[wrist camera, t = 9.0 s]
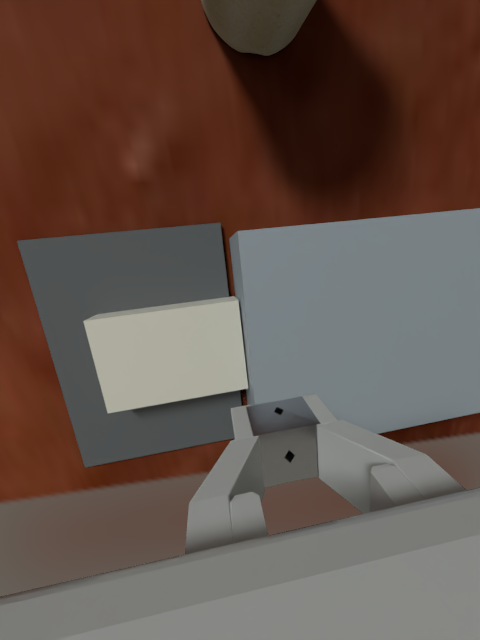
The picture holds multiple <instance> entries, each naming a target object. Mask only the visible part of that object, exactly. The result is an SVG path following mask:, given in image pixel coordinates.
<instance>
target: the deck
mask: <svg viewBox="0 0 480 640" xmlns="http://www.w3.org/2000/svg"><path fill="white" fill-rule="evenodd" d="M229 242H230V251H231V260H232V269H233V278H234V287H235V296H236V298H237V299H238V302H239V311H240V319H241V328H242V337H243V346H244V355H245V363H246V372H247V381H248V389H246V396H247V405H253V404H259V403H266V402H272V401H274V402H275V401H280V400H285V399H290V398H295V397H300V396H304V395H309V394H313V393H314V394H316V395H317V396H318V397H319V398H320V399H321V401H322V402H323V403H324V404H325V406H326V407H327V408H328V409H329V410H330V412H331V413H332V414H333V415H334V416H335V418H336V419H337V420H338V421H339V420H344V421H346V422H349V423H351V424H354V425H356V426H359V427H361V428H363V429H366V430H368V431H371V432H373V433H376V434H379V433H384V432H388V431H393V430H398V429H403V428H407V427H412V426H417V425H422V424H427V423H431V422H436V421H441V420H446V419H450V418H455V417H460V416H465V415H470V414H474V413H479V412H480V208H479V209H468V210H458V211H447V212H436V213H426V214H415V215H405V216H394V217H383V218H373V219H362V220H352V221H341V222H330V223H320V224H309V225H298V226H288V227H277V228H267V229H256V230H245V231H237V232H236V233H235V234H234V235H233V236H232V237H231V238H229Z"/></svg>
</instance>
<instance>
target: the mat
mask: <svg viewBox="0 0 480 640" xmlns="http://www.w3.org/2000/svg"><path fill="white" fill-rule="evenodd" d="M17 243H18V246H19V249H20V253H21V256H22V259H23V263H24V266H25V269H26V273H27V276H28V279H29V283H30V286H31V289H32V293H33V296H34V299H35V303H36V306H37V309H38V313H39V316H40V319H41V323H42V326H43V329H44V332H45V336H46V339H47V342H48V346H49V349H50V352H51V356H52V359H53V362H54V366H55V369H56V372H57V376H58V379H59V382H60V386H61V389H62V392H63V396H64V399H65V402H66V406H67V409H68V412H69V416H70V419H71V422H72V426H73V429H74V432H75V436H76V439H77V442H78V446H79V449H80V452H81V456H82V459H83V462H84V466H85V467H90V466H95V465H100V464H105V463H111V462H116V461H121V460H126V459H131V458H136V457H141V456H146V455H151V454H156V453H161V452H167V451H172V450H177V449H182V448H187V447H192V446H197V445H202V444H207V443H212V442H217V441H222V440H228V439H233V438H234V431H233V423H232V416H231V408H234V407H240V406H242V404H241V395H240V390H237V391H231V392H226V393H220V394H214V395H209V396H203V397H198V398H192V399H186V400H181V401H175V402H170V403H164V404H158V405H153V406H147V407H142V408H136V409H130V410H125V411H119V412H113V413H107V409H106V405H105V401H104V397H103V394H102V390H101V386H100V382H99V379H98V375H97V371H96V367H95V364H94V360H93V356H92V352H91V349H90V345H89V341H88V337H87V334H86V330H85V326H84V322H83V321H84V320H86V319H89V318H91V317H93V316H95V315H97V314H103V313H111V312H118V311H126V310H133V309H141V308H149V307H156V306H164V305H171V304H179V303H186V302H194V301H202V300H209V299H217V298H224V297H229V292H228V284H227V275H226V267H225V258H224V249H223V241H222V232H221V224H220V223H212V224H200V225H189V226H178V227H167V228H156V229H145V230H133V231H122V232H111V233H100V234H89V235H77V236H66V237H55V238H44V239H33V240H21V241H17Z"/></svg>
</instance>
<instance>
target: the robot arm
mask: <svg viewBox="0 0 480 640" xmlns="http://www.w3.org/2000/svg"><path fill="white" fill-rule="evenodd" d="M231 416H232V423H233V431H234V438H235V440H232V441H230V443H229V444H228V446H227V447H226V449H225V450H224V452H223V453H222V455H221V456H220V458H219V459H218V461H217V462H216V464H215V465H214V467H213V468H212V470H211V471H210V473H209V474H208V476H207V477H206V479H205V480H204V482H203V483H202V485H201V486H200V488H199V489H198V491H197V492H196V494H195V495H194V497H193V498H192V500H191V501H190V503H189V512H188V524H187V537H186V548H185V555H181V556H176V557H173V558H168V559H163V560H159V561H155V562H150V563H146V564H141V565H137V566H133V567H128V568H124V569H119V570H115V571H111V572H106V573H102V574H97V575H93V576H89V577H85V578H80V579H75V580H71V581H67V582H62V583H58V584H54V585H49V586H45V587H40V588H36V589H32V590H27V591H23V592H18V593H14V594H10V595H5V596H1V597H0V640H480V488H476V489H471V490H466V489H465V488H464V487H463V486H461V485H460V484H459V483H458V482H457V481H456V480H455V479H454V478H453V477H451V476H450V475H449V474H448V473H447V472H446V471H444V470H443V469H442V468H441V467H440V466H439V465H438V464H437V463H436V462H434V461H433V460H432V459H431V458H430V457H429V456H428V455H427V454H424V453H422V452H419V451H417V450H415V449H412V448H410V447H407V446H405V445H402V444H400V443H398V442H395V441H393V440H390V439H388V438H385V437H383V436H380V435H378V434H376V433H373V432H371V431H368V430H366V429H363V428H361V427H359V426H356V425H354V424H351V423H349V422H346V421H344V420H339V421H338V420H337V419H336V418H335V416H334V415H333V414H332V413H331V412H330V410H329V409H328V408H327V407H326V406H325V404H324V403H323V402H322V401H321V399H320V398H319V397H318V396H317V395H316V394H314V393H313V394H309V395H304V396H300V397H295V398H290V399H285V400H280V401H275V402H274V401H272V402H266V403H259V404H253V405H246V406H240V407H234V408H231ZM314 477H319V478H320V479H321V480H322V481H323V482H324V483H326V484H327V485H328V486H329V487H331V488H332V489H333V490H334V491H336V492H337V493H338V494H339V495H341V496H342V497H343V498H344V499H345V500H347V501H348V502H349V503H350V504H352V505H353V506H354V507H355V508H357V509H358V510H359V511H360V512H362V513H363V514H361V515H356V516H352V517H348V518H343V519H339V520H335V521H330V522H326V523H321V524H317V525H313V526H308V527H304V528H299V529H295V530H291V531H286V532H282V533H278V534H273V535H269V536H268V532H267V527H266V523H265V519H264V514H263V510H262V506H261V501H262V498H263V495H264V492H265V488H267V487H270V486H275V485H279V484H283V483H287V482H291V481H297V480H303V479H309V478H314Z"/></svg>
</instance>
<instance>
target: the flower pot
mask: <svg viewBox="0 0 480 640" xmlns="http://www.w3.org/2000/svg"><path fill="white" fill-rule="evenodd" d="M316 1H317V0H201V3H202V6H203V9H204V11H205V14H206V16H207V18H208V20H209V22H210V24H211V25H212V27H213V29H214V30H215V31H216V33H217V34H218V35H219V36H220V37H221V38H222V39H223V40H224V41H225V42H226V43H227V44H228V45H229V46H230V47H232V48H233V49H235V50H237V51H238V52H241V53H254V54H260V55H264V56H269V55H272V54H274V53H276V52H278V51H280V50H281V49H283V48H284V47H285V46H287V45H288V44H289V43H290V42H291V41H292V40H293V38H294V37H295V36H296V34H297V33H298V31H299V29H300V28H301V26H302V24H303V22H304V21H305V19H306V17H307V16H308V14H309V12H310V11H311V9H312V7H313V6H314V4H315V2H316Z"/></svg>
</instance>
